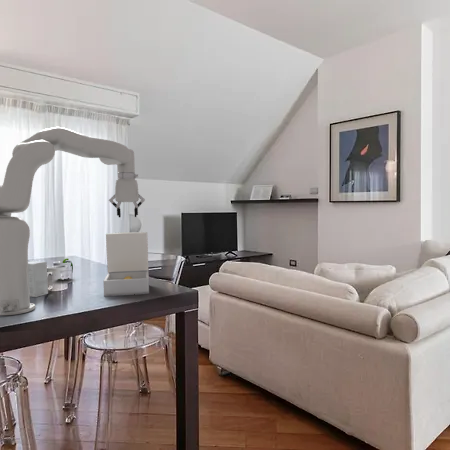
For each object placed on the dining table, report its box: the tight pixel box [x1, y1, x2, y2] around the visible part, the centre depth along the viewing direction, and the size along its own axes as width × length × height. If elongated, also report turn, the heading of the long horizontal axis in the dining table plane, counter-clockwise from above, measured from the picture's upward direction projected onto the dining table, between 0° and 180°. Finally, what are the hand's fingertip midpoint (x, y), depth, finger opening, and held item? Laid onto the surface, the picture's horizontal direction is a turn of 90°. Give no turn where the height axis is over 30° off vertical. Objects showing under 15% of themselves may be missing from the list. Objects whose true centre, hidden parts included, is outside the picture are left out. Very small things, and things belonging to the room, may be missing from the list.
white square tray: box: [103, 270, 150, 297], centre depth 159 cm, size 17×17×6 cm
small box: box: [28, 260, 49, 298], centre depth 154 cm, size 8×6×13 cm
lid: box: [105, 231, 149, 274], centre depth 167 cm, size 18×17×2 cm
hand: (127, 216), depth 175 cm, fingers open, 6 cm apart
